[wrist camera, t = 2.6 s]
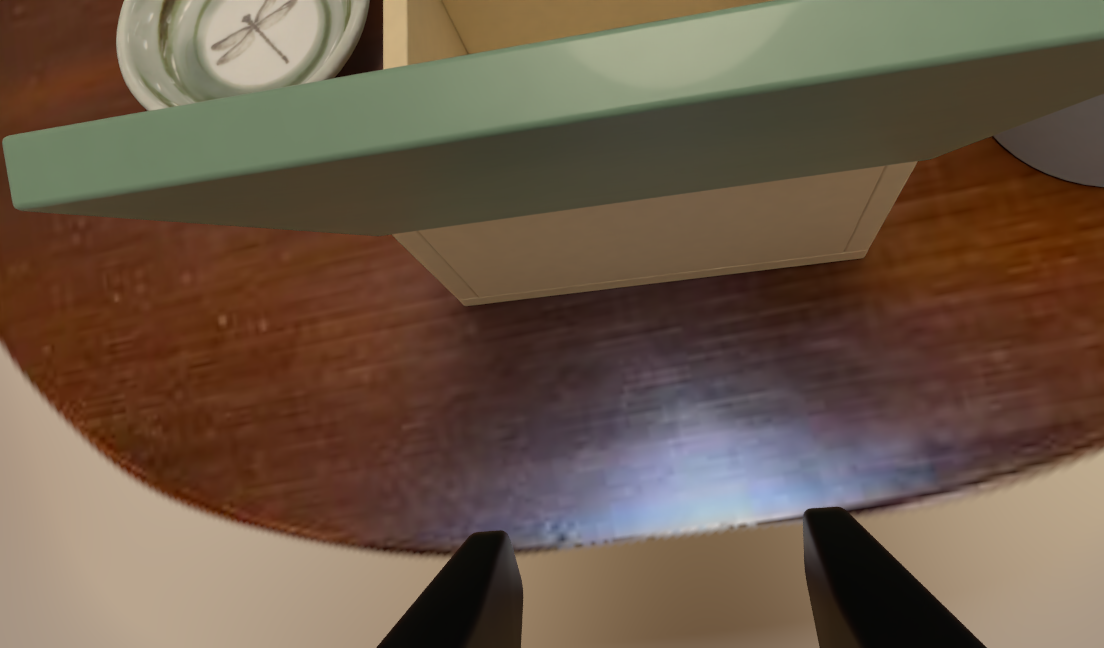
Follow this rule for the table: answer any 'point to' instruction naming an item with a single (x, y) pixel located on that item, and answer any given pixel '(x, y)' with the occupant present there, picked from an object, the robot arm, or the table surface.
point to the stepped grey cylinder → (1063, 142)
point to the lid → (582, 118)
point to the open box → (634, 226)
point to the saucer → (232, 46)
